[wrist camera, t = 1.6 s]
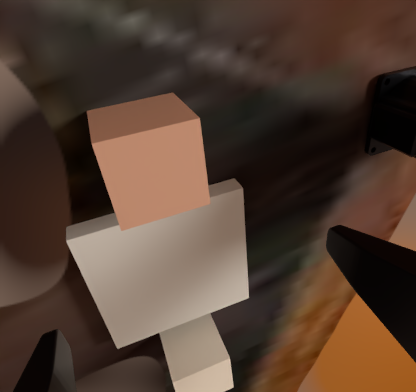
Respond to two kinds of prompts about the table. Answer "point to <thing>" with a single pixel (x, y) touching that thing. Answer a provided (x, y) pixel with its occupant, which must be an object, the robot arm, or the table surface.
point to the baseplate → (165, 265)
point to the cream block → (197, 357)
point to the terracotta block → (150, 158)
